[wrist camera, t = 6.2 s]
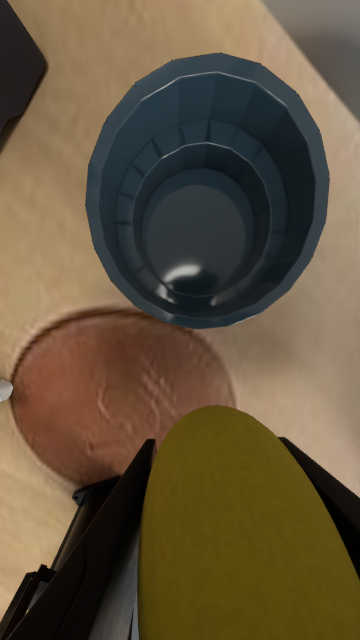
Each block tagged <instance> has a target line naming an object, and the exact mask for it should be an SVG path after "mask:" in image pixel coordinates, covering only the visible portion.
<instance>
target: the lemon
mask: <svg viewBox="0 0 360 640" xmlns="http://www.w3.org/2000/svg"><path fill="white" fill-rule="evenodd" d="M137 598H138V599H137V603H138V629H139V640H360V581H359V578H358V576H357V573H356V571H355V568H354V566H353V564H352V561H351V559H350V557H349V555H348V552H347V550H346V548H345V545H344V543H343V541H342V539H341V537H340V535H339V533H338V531H337V529H336V526H335V524H334V522H333V520H332V518H331V516H330V514H329V513H328V511H327V509H326V507H325V505H324V503H323V501H322V499H321V498H320V496H319V494H318V493H317V491H316V489H315V488H314V486H313V484H312V483H311V481H310V480H309V478H308V477H307V475H306V474H305V472H304V471H303V469H302V468H301V467H300V465H299V464H298V463H297V461H296V460H295V459H294V457H293V456H292V455H291V453H290V452H289V451H288V449H287V448H286V447H285V445H284V444H283V443H282V442H281V441H280V440H279V439H278V437H277V436H276V435H275V434H274V433H273V432H271V431H270V430H269V429H268V428H267V427H265V426H264V425H263V424H262V423H260V422H259V421H258V420H256V419H255V418H254V417H252V416H250V415H249V414H247V413H244V412H242V411H240V410H237V409H235V408H231V407H226V406H220V405H216V406H205V407H202V408H198V409H195V410H194V411H192V412H190V413H188V414H186V415H185V416H183V417H182V418H181V419H180V420H179V421H178V422H177V423H176V424H174V426H173V427H172V428H171V429H170V431H169V432H168V434H167V435H166V437H165V439H164V440H163V442H162V444H161V445H160V447H159V449H158V452H157V454H156V456H155V459H154V462H153V465H152V469H151V473H150V476H149V480H148V484H147V488H146V492H145V497H144V502H143V507H142V514H141V521H140V532H139V544H138V565H137Z"/></svg>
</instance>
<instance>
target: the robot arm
mask: <svg viewBox="0 0 360 640" xmlns="http://www.w3.org/2000/svg"><path fill="white" fill-rule="evenodd" d="M278 439H279V440H280V441H281V442H282V443H283V444H284V445H285V447H286V448H287V449H288V451H289V452H290V453H291V455H292V456H293V457H294V459H295V460H296V461H297V463H298V464H299V465H300V467H301V468H302V469H303V471H304V472H305V474H306V475H307V477H308V478H309V480H310V481H311V483H312V484H313V486H314V488H315V489H316V491H317V493H318V494H319V496H320V498H321V499H322V501H323V503H324V505H325V507H326V509H327V511H328V513H329V514H330V516H331V518H332V520H333V522H334V524H335V526H336V529H337V531H338V533H339V535H340V537H341V539H342V541H343V543H344V545H345V548H346V550H347V552H348V555H349V557H350V559H351V561H352V564H353V566H354V568H355V571H356V573H357V576H358V578H359V581H360V498H359V497H358V496H357V495H355V494H354V493H353V492H352V491H351V490H349V489H348V488H347V487H346V486H344V485H343V484H342V483H341V482H339V481H338V480H337V479H336V478H335V477H333V476H332V475H331V474H330V473H328V472H327V471H326V470H325V469H324V468H322V467H321V466H320V465H319V464H317V463H316V462H315V461H314V460H312V459H311V458H310V457H309V456H308V455H306V454H305V453H304V452H303V451H301V450H300V449H299V448H298V447H297V446H295V445H294V444H293V443H292V442H290V441H289V440H288V439H287V438H285V437H278ZM156 454H157V447H156V440H155V439H147V440H146V441H145V443H144V444H143V446H142V447H141V449H140V450H139V452H138V453H137V455H136V456H135V458H134V459H133V461H132V462H131V463H130V465H129V466H128V468H127V469H126V471H125V472H124V474H123V475H122V477H116V478H113V479H110V480H107V481H104V482H101V483H98V484H95V485H92V486H89V487H86V488H83V489H80V490H77V491H75V492H74V494H73V496H72V498H73V500H74V501H75V502H76V504H77V505H78V506H79V507H78V509H77V511H76V513H75V516H74V518H73V520H72V522H71V524H70V526H69V529H68V531H67V533H66V535H65V537H64V540H63V542H62V544H61V546H60V548H59V550H58V553H57V555H56V557H55V559H54V561H53V563H52V566H51V568H50V569H49V568H47V566H46V565H43V564H41V566H40V567H39V569H38V571H37V572H36V571H34V572H30V573H26V575H25V577H24V579H23V581H22V583H21V585H20V587H19V588H18V590H17V592H16V594H15V596H14V598H13V600H12V602H11V603H10V605H9V607H8V609H7V611H6V613H5V615H4V617H3V618H2V620H1V622H0V640H131V635H132V622H133V609H134V608H133V607H134V602H135V596H136V591H137V565H138V544H139V532H140V521H141V514H142V507H143V502H144V497H145V492H146V488H147V484H148V480H149V476H150V473H151V469H152V465H153V462H154V459H155V456H156ZM27 609H28V610H29V611H28V612H27ZM26 612H27V613H26ZM25 614H26V615H25Z"/></svg>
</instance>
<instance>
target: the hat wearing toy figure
mask: <svg viewBox="0 0 360 640" xmlns="http://www.w3.org/2000/svg"><path fill="white" fill-rule="evenodd" d="M12 390H13V385H12V384H11V383H10V382H9V381H7V380H5V379H0V402H1V401H4V400H6V399H7V398H9V397H10V395H11V393H12Z"/></svg>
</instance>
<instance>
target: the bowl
mask: <svg viewBox="0 0 360 640" xmlns="http://www.w3.org/2000/svg"><path fill="white" fill-rule="evenodd" d="M89 163H90V164H88V177H87V190H86V204H85V207H86V212H87V217H88V222H89V227H90V231H91V236H92V241H93V246H94V249H95V251H96V253H97V255H98V257H99V259H100V261H101V263H102V265H103V267H104V269H105V270H106V272H107V274H108V276H109V278H110V280H111V281H112V283H113V284H114V285H115V286H116V287H117V288H118V289H119V290H120V291H121V292H122V293H123V294H124V295H125V296H126V297H127V298H128V299H129V300H130V301H131V302H132V303H133V305H134V306H136V307H137V308H139V309H141V310H143V311H144V312H146V313H148V314H150V315H152V316H153V317H155V318H157V319H159V320H160V321H162V322H165V323H168V324H173V325H177V326H182V327H187V328H192V329H206V328H217V327H227V326H231V325H234V324H236V323H238V322H241V321H243V320H246V319H248V318H251V317H253V316H256V315H258V314H260V313H261V312H263V311H264V310H265V309H266V308H268V307H269V306H270V305H271V304H273V303H274V302H275V301H277V300H278V299H279V298H280V297H282V296H283V295H284V294H285V293H287V292H288V291H289V290H290V289H291V287H292V286H293V284H294V283H295V282H296V280H297V279H298V278H299V276H300V275H301V273H302V272H303V271H304V269H305V268H306V267H307V265H308V264H309V262H310V261H311V259H312V257H313V254H314V252H315V249H316V247H317V244H318V241H319V239H320V236H321V233H322V231H323V228H324V225H325V223H326V221H325V220H326V216H327V205H328V193H329V182H330V177H329V170H328V165H327V160H326V156H325V151H324V146H323V141H322V136H321V133H320V130H319V128H318V127H317V125H316V123H315V121H314V120H313V118H312V116H311V115H310V113H309V111H308V109H307V108H306V106H305V104H304V103H303V101H302V99H301V98H300V96H299V94H298V93H297V94H296V91H295V90H293V89H292V88H291V87H290V86H288V85H287V84H286V83H285V82H283V81H282V80H281V79H280V78H278V77H277V76H276V75H275V74H273V73H272V72H271V71H270V70H268V69H267V68H266V67H264V66H262V64H261V63H257V62H253V61H249V60H246V59H242V58H238V57H235V56H231V55H227V54H224V53H219V54H218V53H213V54H206V55H200V56H194V57H187V58H181V59H175V60H171V61H170V62H168V63H167V64H165V65H163V66H162V67H160V68H158V69H157V70H155V71H153V72H152V73H150V74H149V75H147V76H145V77H144V78H142V79H140V80H139V81H137V82H135V85H133V86H132V87H131V89H130V90H129V91H128V92H127V94H126V95H125V96H124V97H123V99H122V100H121V101H120V102H119V104H118V105H117V106H116V107H115V109H114V110H113V111H112V112H111V114H110V115H109V116H108V117H107V119H106V122H104V125H103V127H102V130H101V132H100V135H99V138H98V140H97V143H96V146H95V148H94V151H93V154H92V156H91V159H90V162H89Z"/></svg>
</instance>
